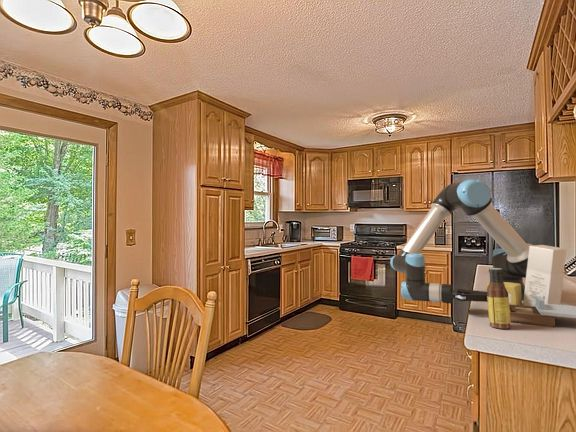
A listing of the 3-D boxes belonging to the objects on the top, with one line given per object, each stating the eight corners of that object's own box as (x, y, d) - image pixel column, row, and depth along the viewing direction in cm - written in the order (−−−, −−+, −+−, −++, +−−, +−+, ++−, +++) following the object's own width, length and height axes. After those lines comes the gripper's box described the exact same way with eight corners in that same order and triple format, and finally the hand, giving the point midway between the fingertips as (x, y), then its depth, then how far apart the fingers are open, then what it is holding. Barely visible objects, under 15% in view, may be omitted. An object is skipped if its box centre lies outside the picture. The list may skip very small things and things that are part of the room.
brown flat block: (505, 312, 130) (505, 303, 130) (547, 316, 124) (546, 307, 124) (508, 322, 118) (508, 312, 118) (554, 327, 112) (554, 316, 112)
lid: (534, 305, 126) (533, 294, 126) (578, 309, 120) (578, 297, 120) (541, 314, 113) (540, 302, 113) (591, 319, 107) (590, 306, 107)
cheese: (494, 303, 146) (493, 280, 146) (523, 307, 138) (522, 283, 138) (486, 307, 139) (485, 283, 140) (516, 312, 131) (515, 286, 132)
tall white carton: (559, 310, 131) (567, 248, 129) (546, 313, 128) (553, 250, 125) (535, 303, 139) (542, 244, 137) (522, 305, 136) (528, 245, 133)
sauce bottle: (514, 327, 112) (512, 268, 112) (504, 331, 109) (502, 270, 109) (494, 323, 118) (492, 266, 118) (484, 326, 114) (482, 268, 115)
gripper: (442, 299, 140) (509, 304, 129) (440, 306, 129) (513, 312, 118) (442, 281, 141) (508, 285, 129) (439, 286, 129) (512, 291, 118)
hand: (510, 298), depth 123 cm, fingers closed
